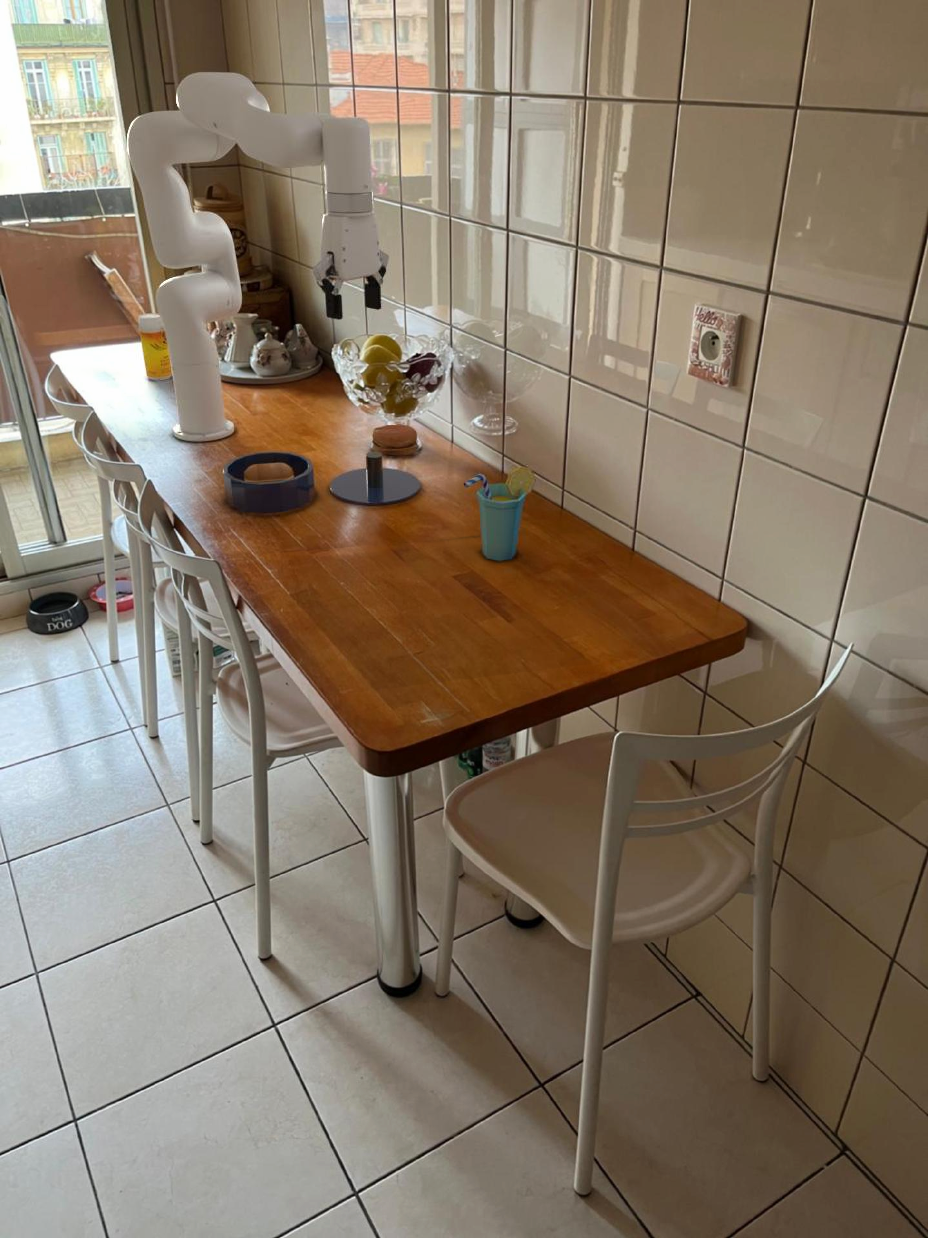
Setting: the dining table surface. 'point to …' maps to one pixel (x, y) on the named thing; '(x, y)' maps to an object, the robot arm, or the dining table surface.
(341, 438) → the dining table surface
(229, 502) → the pot
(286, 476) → the bread
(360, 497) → the lid
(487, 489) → the cup
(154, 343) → the yellow tall cylinder
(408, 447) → the burger
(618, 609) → the dining table surface
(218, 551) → the dining table surface
